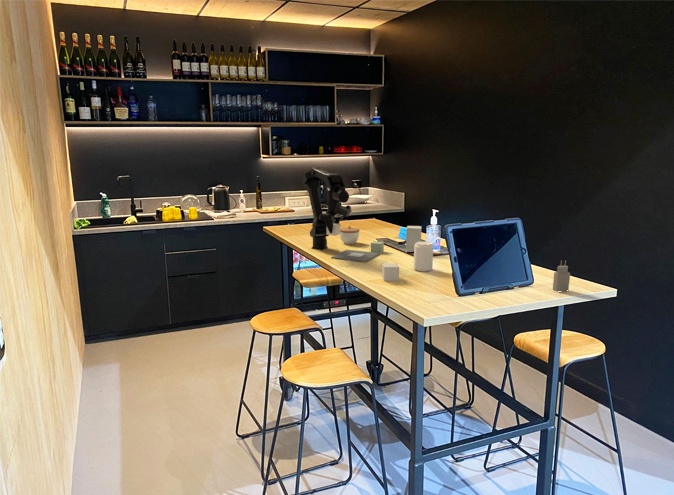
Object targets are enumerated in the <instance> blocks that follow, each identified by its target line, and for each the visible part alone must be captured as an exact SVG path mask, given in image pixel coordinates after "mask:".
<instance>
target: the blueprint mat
mask: <svg viewBox="0 0 674 495" xmlns="http://www.w3.org/2000/svg"><path fill="white" fill-rule="evenodd" d="M380 255H381V253H375V252H371V251H364V250H357V249H356V250H354V249H345V250H343V251H341V252H338V253H337V254H335V255H332V256H331V257H330V258H331V259H333V258H335V260H343V261H351V262H359V263H368V262H370V261H371V260H373V259H375V258H376V257H378V256H380Z"/></svg>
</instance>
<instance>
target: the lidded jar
mask: <svg viewBox="0 0 674 495" xmlns="http://www.w3.org/2000/svg"><path fill="white" fill-rule="evenodd" d="M339 237H340V240H341V241H342V242H343V244H344V245H355V244H356V243H357V242H358V240H359V237H360V228H358V227H351V225H348V227H340V234H339Z"/></svg>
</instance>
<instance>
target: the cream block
mask: <svg viewBox="0 0 674 495" xmlns="http://www.w3.org/2000/svg"><path fill="white" fill-rule="evenodd" d="M340 229H341V224H340V223H339V224H336V223H333V231H332V233H330V232H329V230H328V228H327V235H329V236H340Z"/></svg>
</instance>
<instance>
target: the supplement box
mask: <svg viewBox="0 0 674 495" xmlns="http://www.w3.org/2000/svg"><path fill="white" fill-rule="evenodd" d="M422 228H423V227H422V225H421V226H420V225H407V226H406V234H405V238H406V239H405V240H406V241H405V253H407V252H410V251H414V246H415V244H416V242H419V241H422Z"/></svg>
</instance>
